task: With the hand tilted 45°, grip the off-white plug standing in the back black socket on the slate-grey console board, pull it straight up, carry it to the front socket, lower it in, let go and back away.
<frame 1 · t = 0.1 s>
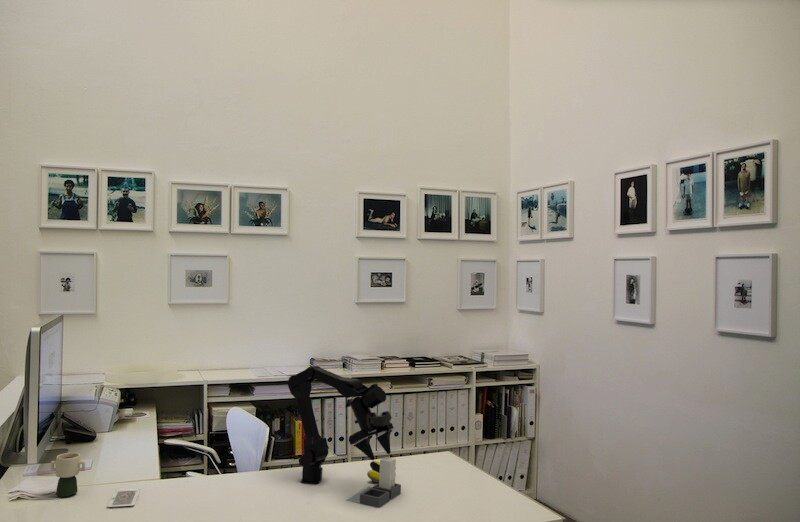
hand: (381, 456, 212), 15 cm above the table, tool tilted 35°, fingers open, 9 cm apart
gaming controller: (381, 481, 232), on the table
touchpad: (124, 501, 205), on the table
console board: (380, 501, 211), on the table
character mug: (66, 495, 207), on the table
plug: (386, 494, 215), point 1 cm above the table, touching console board
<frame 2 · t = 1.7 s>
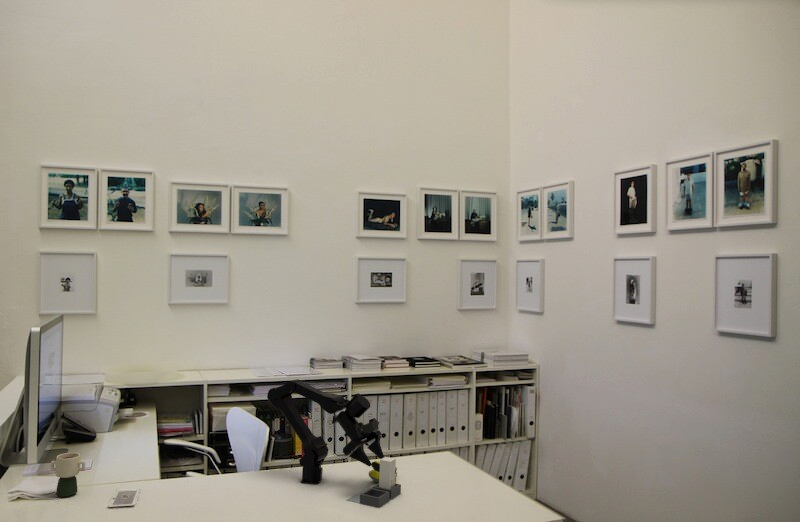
hand: (377, 462, 217), 11 cm above the table, tool tilted 45°, fingers open, 9 cm apart
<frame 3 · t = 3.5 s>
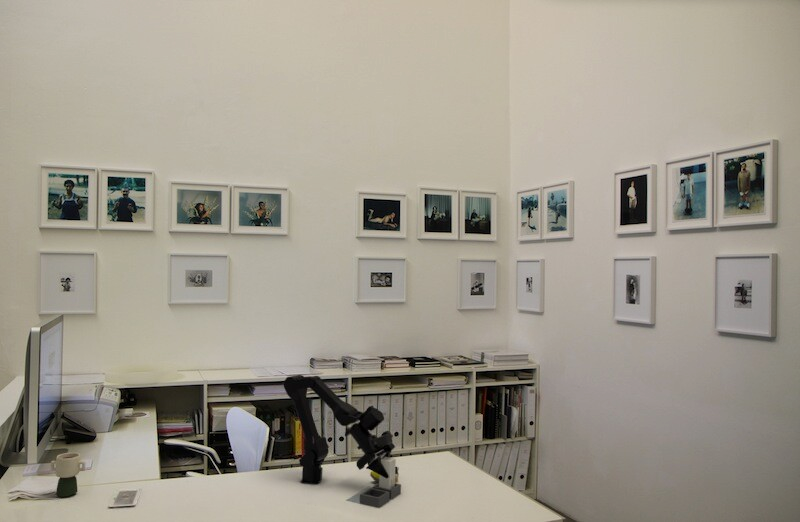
hand: (390, 475, 215), 8 cm above the table, tool tilted 45°, fingers closed on plug, 4 cm apart
plug: (386, 494, 215), point 1 cm above the table, touching console board, gripper
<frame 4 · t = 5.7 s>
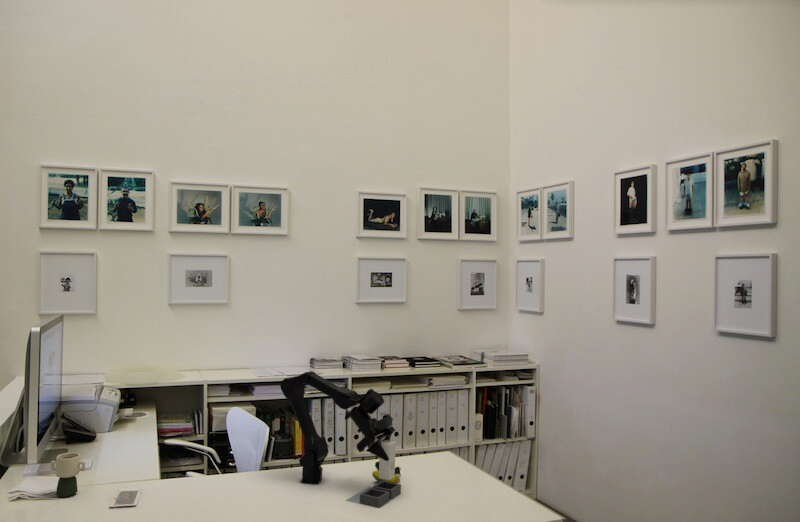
hand: (390, 458, 214), 14 cm above the table, tool tilted 45°, fingers closed on plug, 4 cm apart
plug: (386, 477, 215), point 7 cm above the table, touching gripper
when the fingers open (9 cm above the table, at t = 7.9 s): plug drops 1 cm, resting on console board.
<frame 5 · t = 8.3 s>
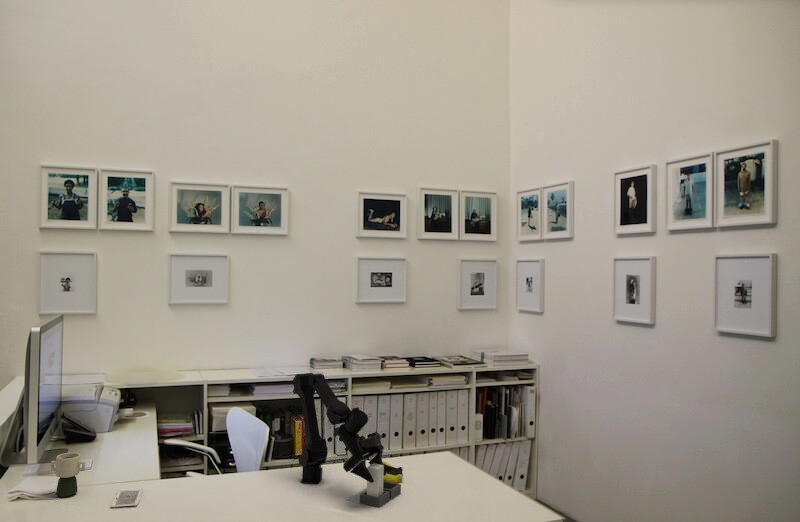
hand: (379, 478, 207), 9 cm above the table, tool tilted 45°, fingers open, 8 cm apart
plug: (374, 502, 207), point 1 cm above the table, touching console board
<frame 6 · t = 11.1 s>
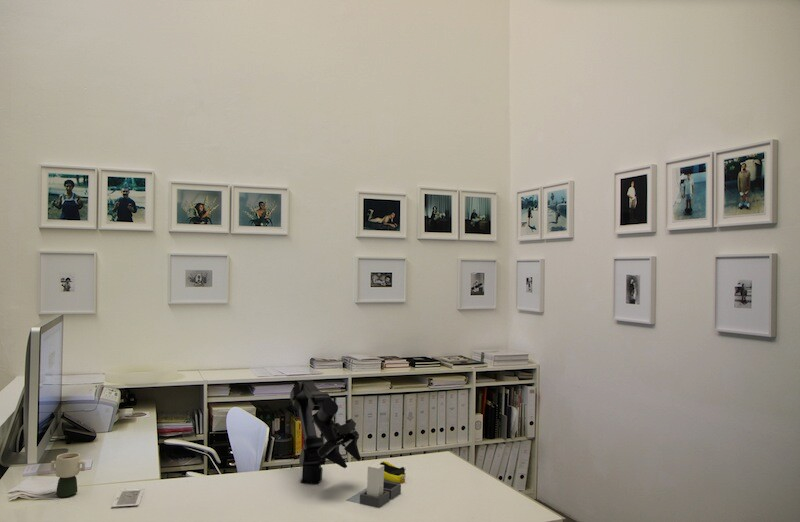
hand: (353, 463, 213), 12 cm above the table, tool tilted 45°, fingers open, 9 cm apart
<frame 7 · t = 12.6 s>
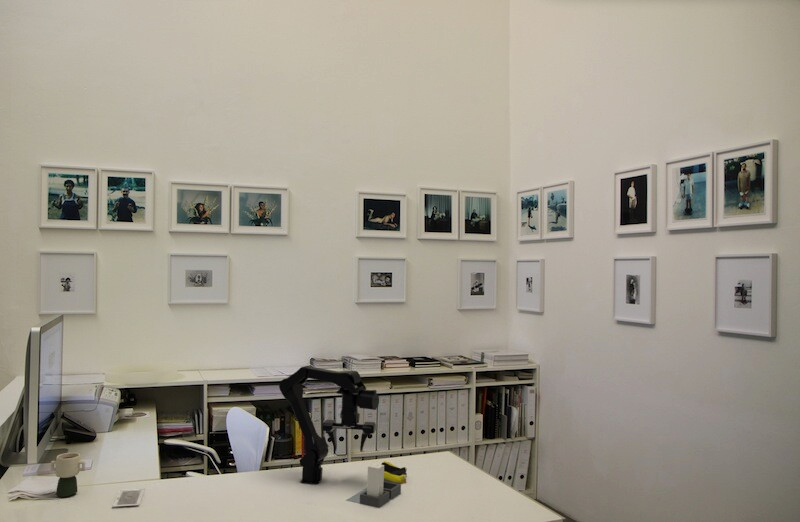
hand: (348, 450, 224), 13 cm above the table, tool pointing down, fingers open, 9 cm apart
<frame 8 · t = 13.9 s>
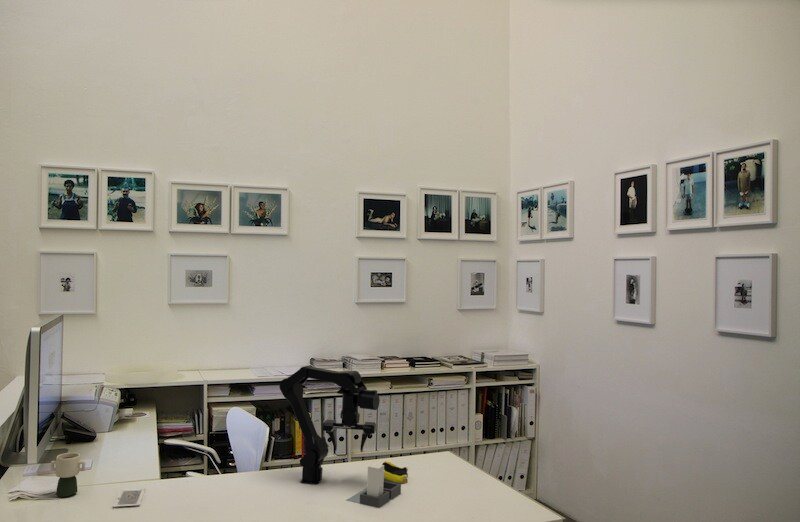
hand: (348, 450, 224), 13 cm above the table, tool pointing down, fingers open, 9 cm apart
at the end: plug 0.1 cm from the target spot on the console board, point 1.0 cm above the console board's base; plug tilted 0°; the gripper is holding nothing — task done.
